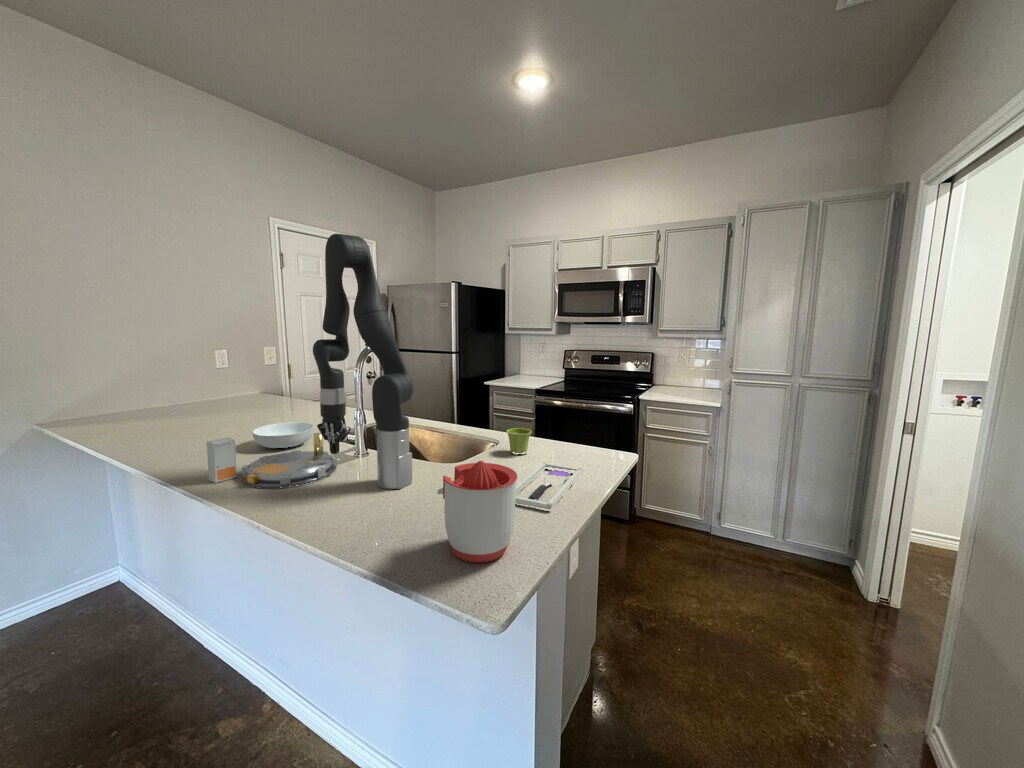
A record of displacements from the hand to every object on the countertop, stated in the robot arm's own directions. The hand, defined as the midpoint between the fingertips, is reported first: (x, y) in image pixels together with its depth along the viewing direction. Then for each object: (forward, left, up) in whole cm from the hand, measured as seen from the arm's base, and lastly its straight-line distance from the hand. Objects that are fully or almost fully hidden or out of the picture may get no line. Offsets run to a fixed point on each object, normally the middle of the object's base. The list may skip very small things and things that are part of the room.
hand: (334, 453), depth 138 cm
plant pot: (-47, -45, -5) cm, 65 cm away
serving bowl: (+36, -10, -5) cm, 38 cm away
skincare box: (+21, +22, -5) cm, 32 cm away
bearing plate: (+8, +9, -5) cm, 14 cm away
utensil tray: (-68, -18, -5) cm, 70 cm away
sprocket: (+8, +9, -4) cm, 13 cm away
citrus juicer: (-66, +22, -5) cm, 70 cm away
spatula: (-68, -17, -6) cm, 70 cm away
